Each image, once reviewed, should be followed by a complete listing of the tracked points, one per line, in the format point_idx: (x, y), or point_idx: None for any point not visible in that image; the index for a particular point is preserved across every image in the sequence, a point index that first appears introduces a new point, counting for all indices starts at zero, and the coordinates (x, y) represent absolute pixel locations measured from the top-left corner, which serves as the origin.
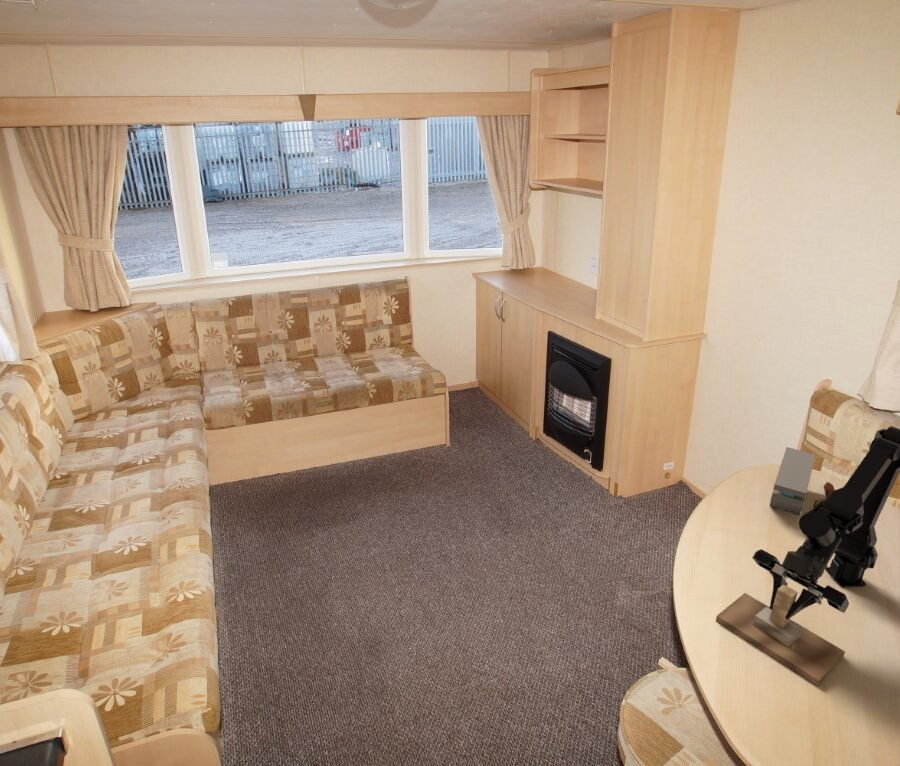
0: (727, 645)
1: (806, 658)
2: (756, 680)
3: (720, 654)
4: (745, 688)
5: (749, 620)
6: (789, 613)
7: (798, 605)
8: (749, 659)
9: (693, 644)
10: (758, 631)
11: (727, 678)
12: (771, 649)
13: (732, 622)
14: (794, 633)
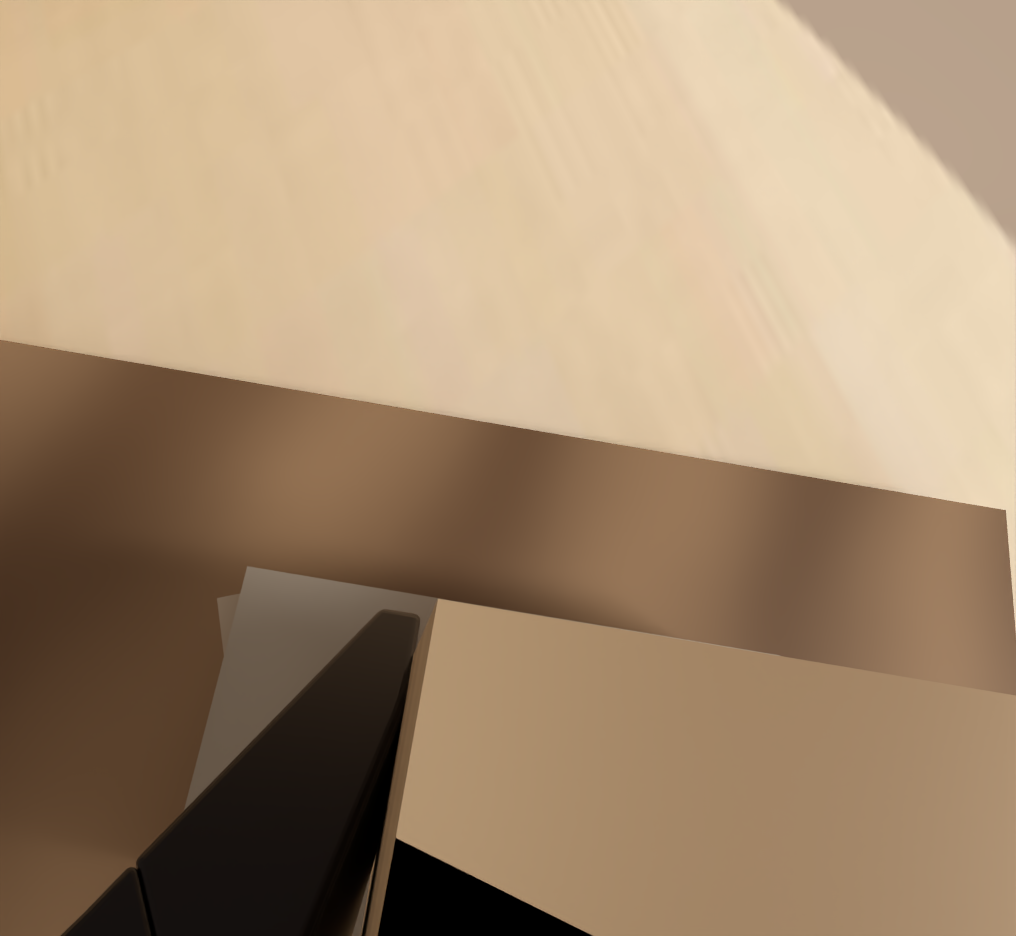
0: (733, 311)
1: (64, 556)
2: (411, 110)
3: (722, 188)
4: (447, 2)
5: None
6: (365, 669)
7: (144, 907)
8: (536, 278)
9: (902, 160)
10: (622, 592)
11: (579, 15)
12: (421, 424)
13: (862, 528)
14: (240, 699)
